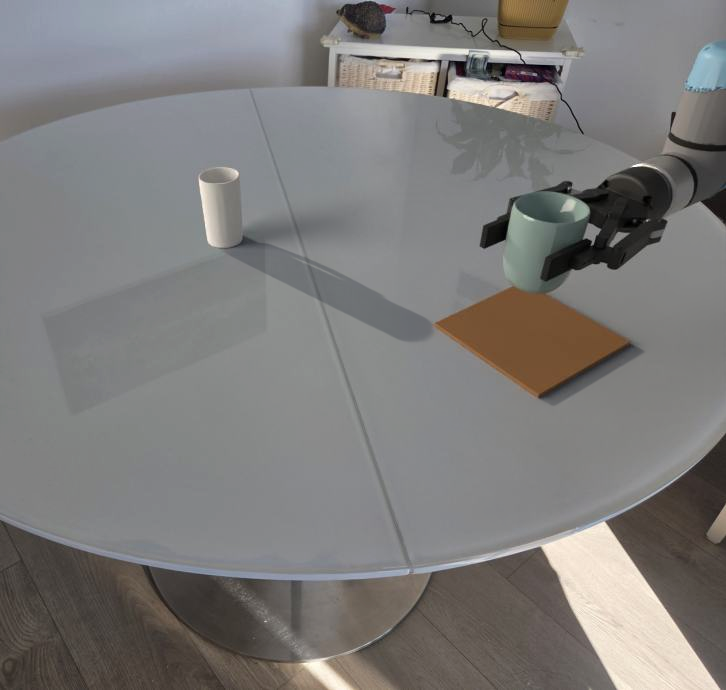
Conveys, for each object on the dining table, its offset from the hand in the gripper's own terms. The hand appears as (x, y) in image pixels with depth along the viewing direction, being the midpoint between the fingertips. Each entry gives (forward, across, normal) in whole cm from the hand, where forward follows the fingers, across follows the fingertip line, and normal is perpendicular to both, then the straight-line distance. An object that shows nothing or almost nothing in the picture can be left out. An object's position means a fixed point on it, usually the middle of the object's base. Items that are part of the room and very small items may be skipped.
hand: (513, 252), depth 70 cm
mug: (+9, +53, -19) cm, 57 cm away
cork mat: (-11, +3, -18) cm, 22 cm away
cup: (-5, 0, -6) cm, 8 cm away
